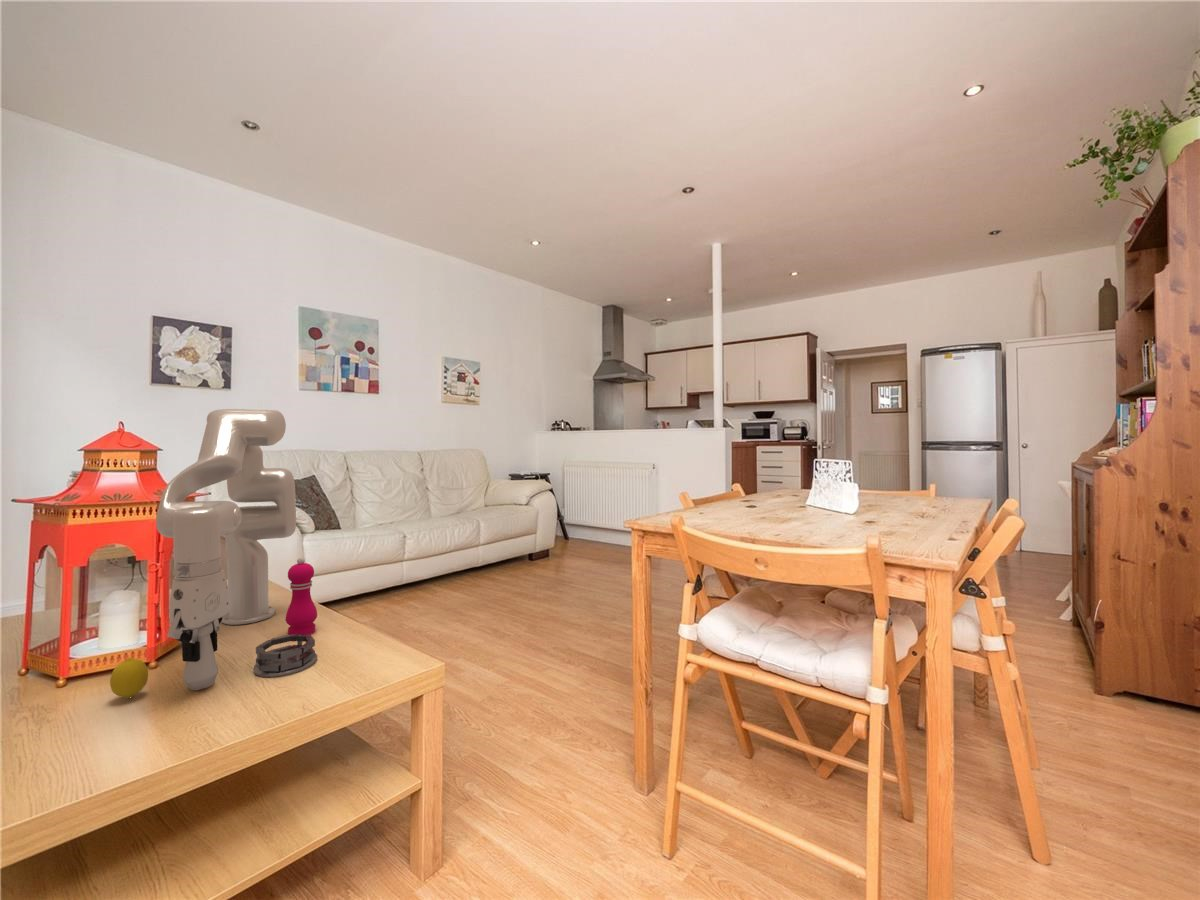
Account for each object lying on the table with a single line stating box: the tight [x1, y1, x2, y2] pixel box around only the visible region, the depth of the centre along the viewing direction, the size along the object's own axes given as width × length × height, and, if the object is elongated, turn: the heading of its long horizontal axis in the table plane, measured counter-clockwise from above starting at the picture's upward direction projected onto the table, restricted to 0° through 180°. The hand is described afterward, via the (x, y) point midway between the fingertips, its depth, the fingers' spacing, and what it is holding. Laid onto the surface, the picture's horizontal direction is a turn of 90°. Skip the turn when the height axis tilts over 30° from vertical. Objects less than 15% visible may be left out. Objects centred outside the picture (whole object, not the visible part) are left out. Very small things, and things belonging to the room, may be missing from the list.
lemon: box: [109, 657, 149, 699], centre depth 101 cm, size 6×6×8 cm
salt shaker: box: [182, 623, 219, 691], centre depth 105 cm, size 6×6×13 cm
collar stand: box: [252, 634, 318, 679], centre depth 116 cm, size 12×12×5 cm
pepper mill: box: [285, 557, 318, 635], centre depth 134 cm, size 7×7×20 cm
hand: (200, 655), depth 105 cm, fingers closed on salt shaker, 3 cm apart
